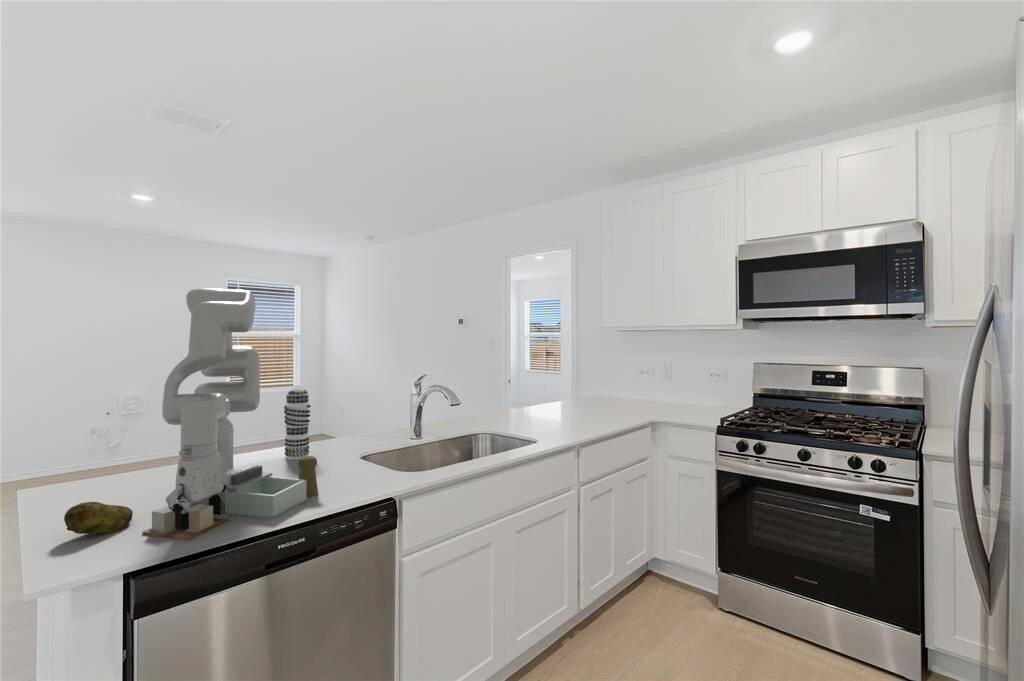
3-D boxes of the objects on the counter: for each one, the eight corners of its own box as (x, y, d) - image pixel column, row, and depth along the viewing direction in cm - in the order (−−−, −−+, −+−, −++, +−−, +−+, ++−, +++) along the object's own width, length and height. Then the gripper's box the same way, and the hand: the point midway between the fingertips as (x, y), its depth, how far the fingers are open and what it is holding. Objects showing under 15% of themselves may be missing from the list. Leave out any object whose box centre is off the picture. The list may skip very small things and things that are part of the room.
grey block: (151, 532, 117) (151, 511, 117) (168, 526, 121) (168, 505, 121) (164, 535, 116) (164, 513, 115) (180, 528, 119) (180, 507, 119)
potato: (138, 530, 119) (138, 497, 119) (66, 547, 109) (66, 511, 109) (130, 520, 124) (130, 489, 124) (61, 536, 115) (60, 501, 114)
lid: (189, 486, 132) (189, 474, 132) (229, 471, 145) (229, 460, 145) (236, 491, 129) (236, 478, 129) (272, 475, 143) (272, 464, 143)
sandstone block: (185, 531, 118) (185, 510, 118) (198, 524, 122) (198, 504, 122) (199, 532, 117) (199, 511, 117) (213, 526, 121) (213, 505, 121)
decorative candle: (295, 452, 193) (296, 387, 192) (315, 454, 190) (316, 389, 189) (277, 458, 184) (278, 390, 183) (298, 460, 181) (298, 392, 181)
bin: (225, 514, 130) (225, 491, 130) (262, 496, 144) (262, 475, 143) (273, 519, 127) (273, 496, 127) (306, 500, 141) (306, 479, 141)
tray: (142, 536, 116) (142, 531, 116) (185, 517, 127) (185, 513, 127) (190, 542, 113) (190, 537, 113) (230, 522, 125) (230, 518, 125)
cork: (310, 498, 143) (310, 460, 142) (291, 496, 144) (291, 458, 144) (322, 491, 149) (322, 455, 148) (304, 490, 150) (304, 453, 150)
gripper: (182, 460, 110) (182, 537, 110) (239, 443, 127) (239, 510, 127) (153, 458, 111) (153, 534, 112) (214, 441, 128) (213, 507, 129)
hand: (199, 521), depth 119 cm, fingers open, 9 cm apart
